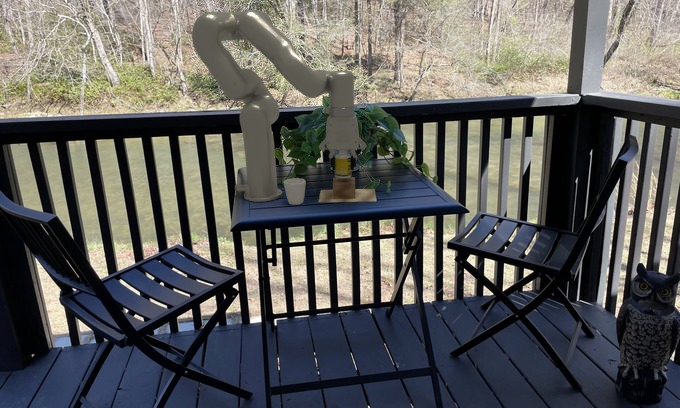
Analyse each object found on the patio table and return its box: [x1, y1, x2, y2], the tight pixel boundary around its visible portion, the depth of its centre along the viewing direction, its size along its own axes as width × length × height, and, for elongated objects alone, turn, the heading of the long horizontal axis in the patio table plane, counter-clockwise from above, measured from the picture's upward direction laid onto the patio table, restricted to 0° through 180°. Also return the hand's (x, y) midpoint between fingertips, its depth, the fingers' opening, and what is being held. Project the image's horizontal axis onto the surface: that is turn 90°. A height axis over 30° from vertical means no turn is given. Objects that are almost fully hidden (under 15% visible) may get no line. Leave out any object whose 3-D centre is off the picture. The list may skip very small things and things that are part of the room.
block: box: [332, 176, 356, 199], centre depth 169 cm, size 7×7×5 cm
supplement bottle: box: [334, 150, 353, 178], centre depth 166 cm, size 5×5×10 cm
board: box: [318, 188, 377, 203], centre depth 170 cm, size 18×13×1 cm
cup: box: [283, 177, 307, 206], centre depth 164 cm, size 7×10×8 cm
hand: (343, 168), depth 167 cm, fingers closed on supplement bottle, 5 cm apart
